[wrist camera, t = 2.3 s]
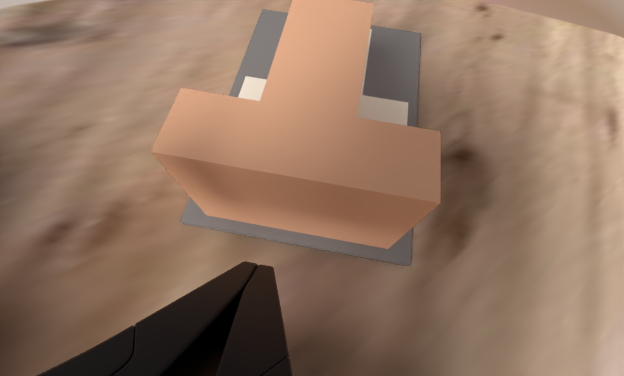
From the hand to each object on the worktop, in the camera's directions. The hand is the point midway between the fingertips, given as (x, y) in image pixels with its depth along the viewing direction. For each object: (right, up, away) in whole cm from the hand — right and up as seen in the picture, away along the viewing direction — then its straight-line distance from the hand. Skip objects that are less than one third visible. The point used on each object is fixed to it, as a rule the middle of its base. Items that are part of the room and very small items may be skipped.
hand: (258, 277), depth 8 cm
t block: (+1, +5, +13) cm, 14 cm away
